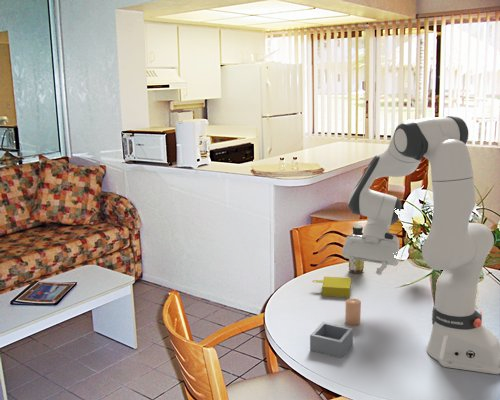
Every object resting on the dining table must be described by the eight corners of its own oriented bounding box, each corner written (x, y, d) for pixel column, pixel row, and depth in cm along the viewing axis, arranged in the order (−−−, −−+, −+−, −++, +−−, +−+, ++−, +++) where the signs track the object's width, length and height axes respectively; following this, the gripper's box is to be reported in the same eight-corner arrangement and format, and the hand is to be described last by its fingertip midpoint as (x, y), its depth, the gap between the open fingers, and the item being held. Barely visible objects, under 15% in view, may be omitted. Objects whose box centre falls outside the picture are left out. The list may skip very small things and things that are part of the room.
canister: (362, 320, 187) (362, 300, 185) (357, 326, 182) (357, 305, 181) (348, 317, 189) (348, 297, 187) (343, 323, 185) (343, 303, 183)
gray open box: (352, 343, 171) (353, 328, 170) (341, 357, 163) (341, 342, 162) (322, 336, 176) (322, 322, 175) (310, 350, 168) (310, 335, 167)
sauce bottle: (346, 269, 234) (347, 224, 230) (361, 268, 235) (362, 223, 231) (351, 274, 228) (352, 228, 224) (365, 273, 229) (367, 227, 224)
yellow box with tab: (314, 265, 219) (352, 266, 216) (314, 283, 221) (351, 285, 218) (310, 279, 205) (351, 281, 202) (310, 299, 206) (351, 301, 204)
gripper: (345, 229, 201) (335, 263, 195) (401, 236, 191) (392, 272, 185) (349, 238, 206) (339, 271, 200) (404, 245, 196) (395, 280, 190)
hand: (365, 271), depth 192 cm, fingers open, 8 cm apart
